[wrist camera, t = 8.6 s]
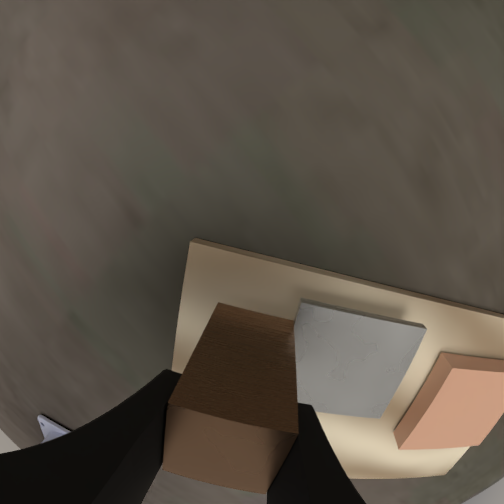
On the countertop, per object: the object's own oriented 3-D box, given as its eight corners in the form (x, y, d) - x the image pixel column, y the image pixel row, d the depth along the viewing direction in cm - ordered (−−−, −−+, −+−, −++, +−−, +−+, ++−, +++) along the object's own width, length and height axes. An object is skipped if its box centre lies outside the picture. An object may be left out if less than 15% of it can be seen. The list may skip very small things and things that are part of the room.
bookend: (377, 412, 13) (407, 510, 7) (202, 380, 13) (161, 484, 7) (422, 323, 11) (492, 413, 6) (223, 278, 12) (171, 370, 6)
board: (442, 468, 17) (444, 474, 16) (168, 435, 18) (165, 443, 17) (537, 322, 13) (543, 327, 12) (195, 237, 14) (190, 241, 13)
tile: (392, 430, 15) (470, 429, 15) (398, 449, 13) (478, 445, 13) (439, 350, 13) (515, 360, 13) (452, 367, 12) (528, 373, 11)
